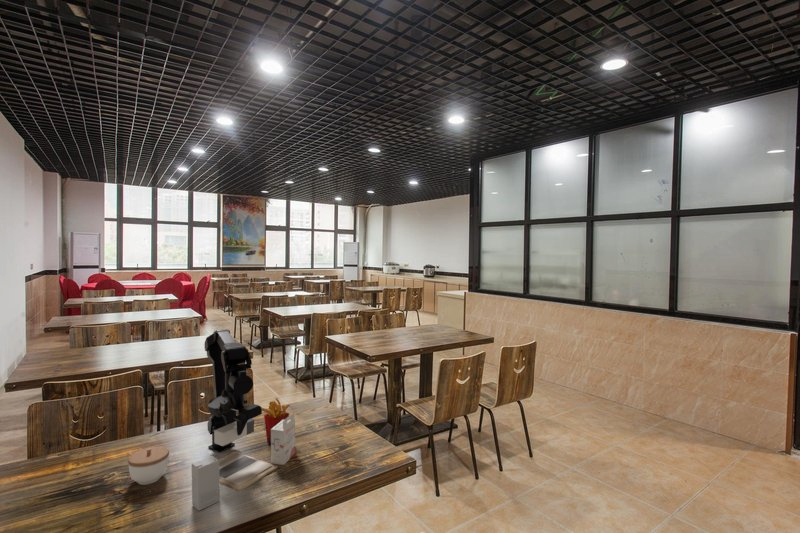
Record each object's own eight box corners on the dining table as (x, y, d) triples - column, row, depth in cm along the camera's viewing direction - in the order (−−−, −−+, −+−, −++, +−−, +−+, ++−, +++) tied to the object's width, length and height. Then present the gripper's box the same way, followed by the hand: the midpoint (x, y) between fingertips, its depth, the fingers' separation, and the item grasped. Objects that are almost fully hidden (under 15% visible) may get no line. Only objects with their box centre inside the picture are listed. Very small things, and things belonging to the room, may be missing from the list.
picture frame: (196, 472, 130) (196, 469, 130) (235, 452, 143) (235, 450, 143) (239, 491, 120) (239, 487, 120) (277, 468, 133) (277, 465, 133)
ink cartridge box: (282, 451, 144) (282, 410, 144) (295, 453, 143) (295, 411, 143) (270, 464, 136) (270, 420, 136) (283, 465, 135) (283, 421, 135)
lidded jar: (126, 492, 119) (125, 461, 119) (130, 474, 128) (130, 445, 128) (168, 483, 124) (168, 453, 123) (169, 467, 133) (169, 438, 133)
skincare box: (213, 495, 118) (212, 454, 118) (220, 502, 115) (220, 459, 115) (190, 505, 113) (190, 462, 113) (198, 512, 110) (197, 468, 110)
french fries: (289, 439, 154) (290, 399, 154) (272, 447, 147) (272, 406, 147) (273, 433, 159) (274, 395, 158) (256, 441, 152) (256, 401, 151)
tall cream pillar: (214, 443, 128) (214, 430, 127) (245, 428, 138) (245, 417, 138) (222, 446, 126) (222, 433, 125) (254, 431, 136) (254, 419, 136)
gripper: (193, 387, 129) (193, 436, 129) (233, 398, 120) (233, 451, 120) (223, 378, 138) (223, 423, 139) (263, 387, 129) (262, 436, 130)
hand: (234, 433), depth 132 cm, fingers closed on tall cream pillar, 4 cm apart
